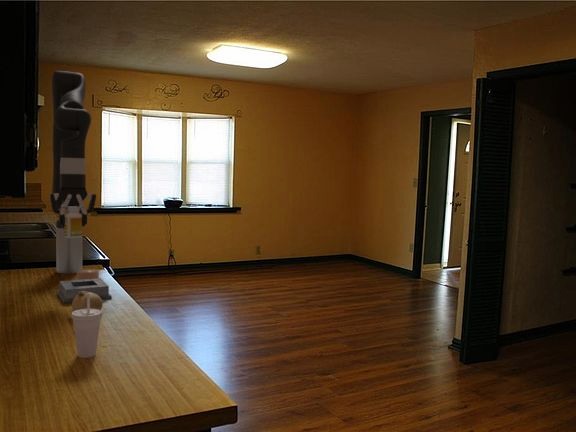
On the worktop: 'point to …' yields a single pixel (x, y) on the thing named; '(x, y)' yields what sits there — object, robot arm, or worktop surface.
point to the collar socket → (83, 289)
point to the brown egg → (87, 274)
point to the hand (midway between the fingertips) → (73, 226)
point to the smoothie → (86, 329)
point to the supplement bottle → (73, 222)
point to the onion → (81, 301)
